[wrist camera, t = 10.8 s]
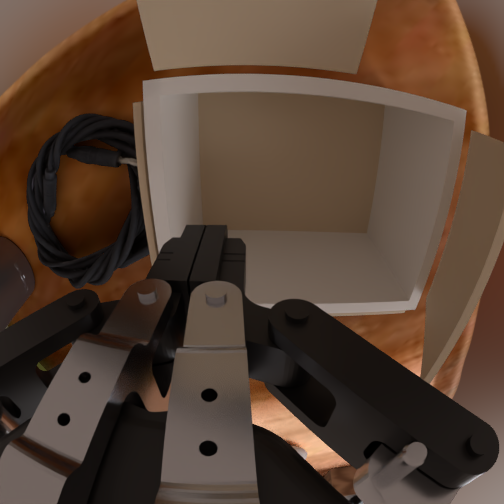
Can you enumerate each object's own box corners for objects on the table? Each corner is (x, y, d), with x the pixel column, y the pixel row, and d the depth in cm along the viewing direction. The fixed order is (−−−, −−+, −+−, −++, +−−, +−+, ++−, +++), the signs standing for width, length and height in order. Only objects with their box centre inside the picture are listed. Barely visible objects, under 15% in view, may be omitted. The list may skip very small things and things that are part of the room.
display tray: (314, 487, 72) (316, 510, 64) (330, 468, 60) (334, 497, 52) (378, 477, 72) (382, 498, 64) (406, 454, 60) (412, 479, 52)
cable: (77, 284, 30) (60, 308, 26) (11, 185, 23) (-14, 200, 20) (200, 222, 26) (190, 246, 22) (121, 85, 20) (96, 86, 16)
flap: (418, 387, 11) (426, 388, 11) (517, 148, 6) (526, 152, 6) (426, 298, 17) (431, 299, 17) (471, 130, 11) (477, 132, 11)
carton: (188, 240, 27) (160, 316, 18) (180, 84, 20) (128, 83, 11) (370, 244, 26) (413, 315, 18) (392, 97, 20) (467, 110, 11)
